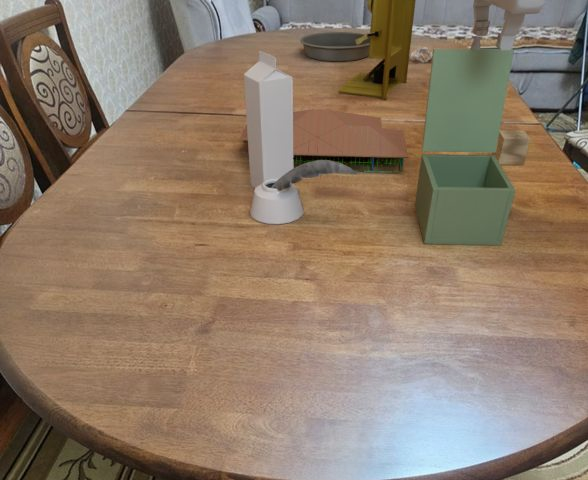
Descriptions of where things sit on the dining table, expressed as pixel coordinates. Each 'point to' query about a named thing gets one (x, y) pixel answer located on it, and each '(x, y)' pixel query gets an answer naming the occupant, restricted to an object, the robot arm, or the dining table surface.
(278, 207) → the inkwell
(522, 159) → the block
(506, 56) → the lid
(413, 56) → the beige rough lump
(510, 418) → the dining table surface
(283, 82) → the milk
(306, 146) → the house
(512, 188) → the chest
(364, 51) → the cake pan
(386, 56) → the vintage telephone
